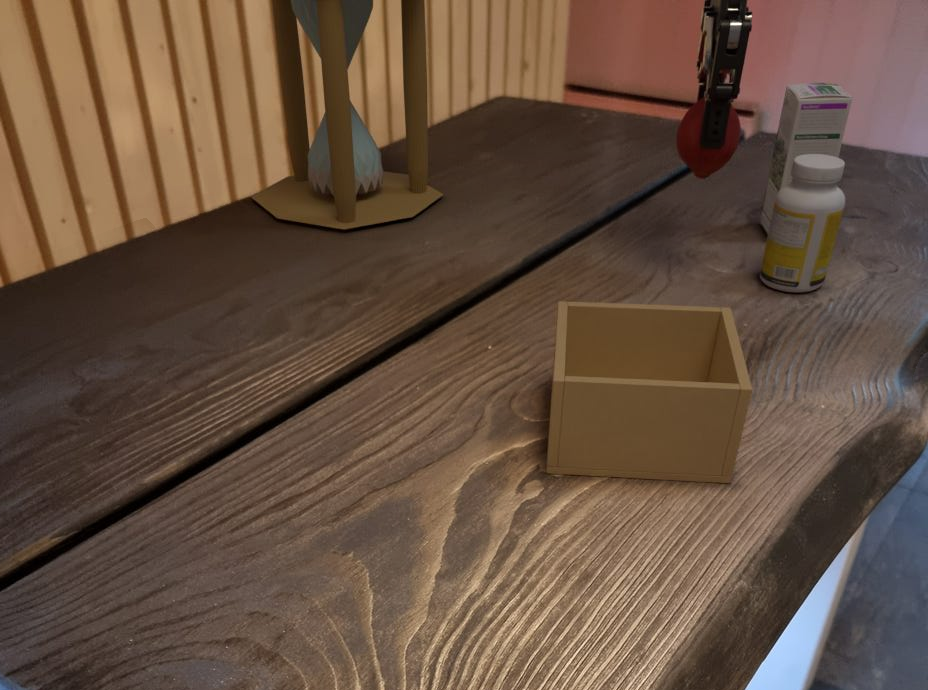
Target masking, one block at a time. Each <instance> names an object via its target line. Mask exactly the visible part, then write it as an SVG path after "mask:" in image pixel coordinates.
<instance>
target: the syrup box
mask: <svg viewBox="0 0 928 690" xmlns="http://www.w3.org/2000/svg"><path fill="white" fill-rule="evenodd" d="M852 102H853V96H852V95H851V94H849V93H848V92H847V91H846V90H845V89H843V88H842V87H841V86H840V85H839V84H836V83H828V82H827V83H826V82H806V83H805V82H804V83H797V84H787V85H786V87H785V91H784V97H783V102H782V107H781V111H780V117H779V121H778V127H777V132H776V136H775V142H774V147H773V152H772V157H771V162H770V167H769V172H768V178H767V182H766V187H765V192H764V197H763V202H762V208H761V213H760V217H759V225H760V226H761V228H762V229H763V230H764V232H765V234H766V235H767V236H768V232H769V228H770V223H771V218H772V213H773V208H774V204H775V200H776V196H777V194H778V192H779V190H780V189H781V188H782V187H784V186H785V185H786V184H788V183H791V182H792V178H793V177H792V176H791V170H792V166H793V161H794V159H795V158H796V157H798V156H800V155H806V154H823V155H829V156H834V157H837V158H840V153H841V148H842V144H843V140H844V136H845V131H846V127H847V124H848V123H847V122H848V118H849V115H850V110H851V106H852Z"/></svg>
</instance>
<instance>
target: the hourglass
mask: <svg viewBox="0 0 928 690" xmlns="http://www.w3.org/2000/svg"><path fill="white" fill-rule="evenodd" d="M425 1H426V0H400V6H401V7H400V8H401V12H400V13H401V43H402V44H401V45H402V49H401V50H402V82H403V103H404V104H403V106H404V124H405V125H404V126H405V144H406V146H405V147H406V166H407V167H406V168H407V174H405V173H399V172H392V171H384V168H383V164H382V154H381V151H380V149H379V147H378V144H377V143H376V141H375V139H374V138H373V136H372V134H371V132H370V131H369V130H368V128H367V126H366V124H365V123H364V121H363V119H362V117H361V116H360V114H359V112H358V111H357V109H356V108H355V105H354V104H353V103H352V101H351V95H350V83H349V73H348V70H349V68H350V65H351V64H352V62H353V58H354V56H355V53H356V51H357V48H358V46H359V45H360V42H361V40H362V37H363V34H364V32H365V30H366V27H367V25H368V23H369V21H370V18H371V14H372V11H373V9H374V0H271V4H272V5H271V7H272V14H273V24H274V33H275V44H276V53H277V61H278V72H279V80H280V81H279V82H280V87H281V88H280V89H281V95H282V103H283V111H284V119H285V126H286V134H287V142H288V150H289V157H290V162H291V168H292V171H293V175H288V176H286V177H284V178H282V179H280V180H279V181H276V182H275V183H272V184H271V185H269V186H267V187H265V188H264V189H261V190H259V191H258V192H256V193H255V194H253V195H251V196H250V198H251V199H253V200H254V201H255V202H256V203H257V204H259V205H260V206H261V207H263V208H264V209H265V210H266V211H268V212H269V213H270V214H271V215H273V216H274V217H275V218H276V219H279V220H285V221H289V222H290V221H291V222H298V223H303V224H308V225H314V226H315V225H316V226H321V227H326V228H333V229H338V230H339V229H340V230H348V229H355V228H359V227H365V226H371V225H376V224H381V223H382V224H383V223H388V222H393V221H398V220H402V219H408V218H413V217H416V215H418V214H419V213H421V212H422V211H423V210H425V209H426V208H427V207H429V206H430V205H432V204H433V203H434V202H436V201H437V200H439V199H440V198H441V197H442V196H444V195H445V194H444V193H442V192H440V191H439V190H437V189H436V188H434V187H432V186H430V185H428V178H429V177H428V175H429V135H428V134H429V124H428V123H429V122H428V121H429V120H428V118H429V117H428V115H429V114H428V111H429V110H428V109H429V108H428V106H429V105H428V70H427V69H428V67H427V66H428V64H427V63H428V61H427V34H426V33H427V32H426V4H425V3H426V2H425ZM298 23H299V25H300V26H301V27H300V28H302V30H303V31H304V33H305V35H306V36H307V38H308V40H309V42H310V44H311V45H312V47H313V48H314V50H315V52H316V53H317V55H318V57H319V58H320V62H321V63H320V64H321V74H322V75H321V76H322V91H323V100H324V103H323V104H324V114H323V116H322V118H321V121H320V123H319V125H318V128H317V131H316V133H315V135H314V137H313V139H312V142H311V145H310V138H309V127H308V114H307V103H306V92H305V82H304V80H305V79H304V72H303V71H304V69H303V62H302V54H301V53H302V52H301V45H300V36H299V29H298V27H299V26H298Z"/></svg>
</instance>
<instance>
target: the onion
mask: <svg viewBox="0 0 928 690" xmlns="http://www.w3.org/2000/svg"><path fill="white" fill-rule="evenodd" d="M704 107H705V98H704V97H703V98H702V99H700V100H699V101H697V100H696V102H695V103H693V104H692V105H691V106H690V107H689V109H687V111H686V112H685V114H684V116H683V117H682V119H681V121H680V123H679V124H678V127H677V132H676V138H675V139H676V141H675V144H676V150H677V153H678V156H679V157H680V159H681V160H682V162H683V163H684V164H685V165H686V167H688V169H689V170H691V172H692V173H693V175H694V176H695V177H696V178H697V179H699V180H705V179H707V178H709V177H710V176H711V175H713V174H715V173H716V172H718V171H720V170H721V169H722V168H724V167H725V165H726V164H727V163H729V162H730V160H731V159H732V157H734V154H735V153H736V152H737V149H738V146H739V143H740V139H741V132H742V126H741V121H740V117H739V114H738V112H737V111H736V109H735V108H734V106H733V104H732V103H731V108H730V114H729V120H728V126H727V132H726V138H725V144H724V146H723V147H722V148H720V149H704V148H702V147H701V146H700V134H701V127H702V121H703V114H704Z"/></svg>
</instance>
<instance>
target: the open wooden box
mask: <svg viewBox="0 0 928 690" xmlns="http://www.w3.org/2000/svg"><path fill="white" fill-rule="evenodd" d="M556 311H557V312H556V327H555V337H554V338H555V340H554V352H553V353H554V354H553V367H552V380H551V381H552V382H551V395H550V409H549V410H550V411H549V425H548V437H547V438H548V439H547V452H546V455H547V456H546V466H545V467H546V469H545V474H548V475H549V474H550V475H568V476H588V477H605V478H624V479H640V480H641V479H642V480H659V481H660V480H661V481H676V482H677V481H678V482H680V481H681V482H696V483H697V482H698V483H712V484H713V483H717V484H731V482H732V480H733V479H732V478H733V475H734V470H735V466H736V461H737V457H738V452H739V450H740V449H739V448H740V443H741V440H742V435H743V432H744V427H745V423H746V418H747V416H748V415H747V414H748V411H749V406H750V403H751V399H752V398H751V397H752V394H753V387H752V383H751V379H750V375H749V371H748V368H747V364H746V360H745V356H744V352H743V349H742V345H741V342H740V338H739V334H738V329H737V326H736V322H735V319H734V314H733V311H732V307H725V306H723V307H722V306H721V307H720V306H719V307H718V306H698V305H697V306H695V305H693V306H692V305H669V304H645V303H644V304H642V303H640V304H639V303H616V302H615V303H614V302H587V301H558V302H557V310H556Z"/></svg>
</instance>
